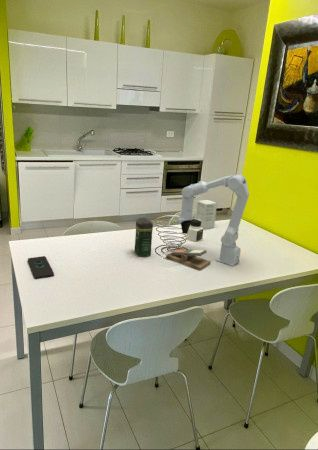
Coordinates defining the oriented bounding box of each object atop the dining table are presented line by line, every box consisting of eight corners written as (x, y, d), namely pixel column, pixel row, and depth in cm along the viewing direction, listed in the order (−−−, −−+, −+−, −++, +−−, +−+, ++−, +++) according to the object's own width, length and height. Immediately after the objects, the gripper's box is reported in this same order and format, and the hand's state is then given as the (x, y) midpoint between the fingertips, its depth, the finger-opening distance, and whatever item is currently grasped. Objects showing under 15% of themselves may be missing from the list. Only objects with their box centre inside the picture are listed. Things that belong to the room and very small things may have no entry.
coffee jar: (152, 256, 174) (155, 222, 168) (137, 257, 171) (139, 222, 165) (147, 249, 183) (149, 216, 177) (132, 250, 180) (134, 216, 174)
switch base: (210, 264, 170) (211, 255, 169) (199, 270, 162) (200, 261, 161) (176, 252, 181) (177, 244, 180) (165, 258, 173) (166, 249, 172)
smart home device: (45, 255, 164) (54, 273, 147) (45, 258, 164) (54, 277, 148) (27, 258, 160) (34, 276, 144) (27, 261, 161) (34, 280, 144)
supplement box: (214, 227, 224) (217, 203, 218) (203, 229, 219) (206, 204, 214) (205, 223, 231) (208, 199, 226) (194, 225, 227) (197, 200, 221)
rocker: (206, 254, 168) (206, 249, 167) (200, 257, 163) (199, 253, 163) (178, 253, 178) (177, 249, 178) (171, 256, 174) (170, 252, 173)
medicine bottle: (196, 242, 197) (198, 222, 193) (185, 239, 201) (187, 219, 197) (202, 239, 203) (204, 220, 199) (192, 236, 207) (194, 217, 203)
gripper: (188, 204, 186) (185, 228, 191) (172, 209, 175) (170, 234, 179) (199, 207, 182) (196, 231, 187) (184, 212, 171) (182, 238, 175)
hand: (184, 233), depth 183 cm, fingers closed
